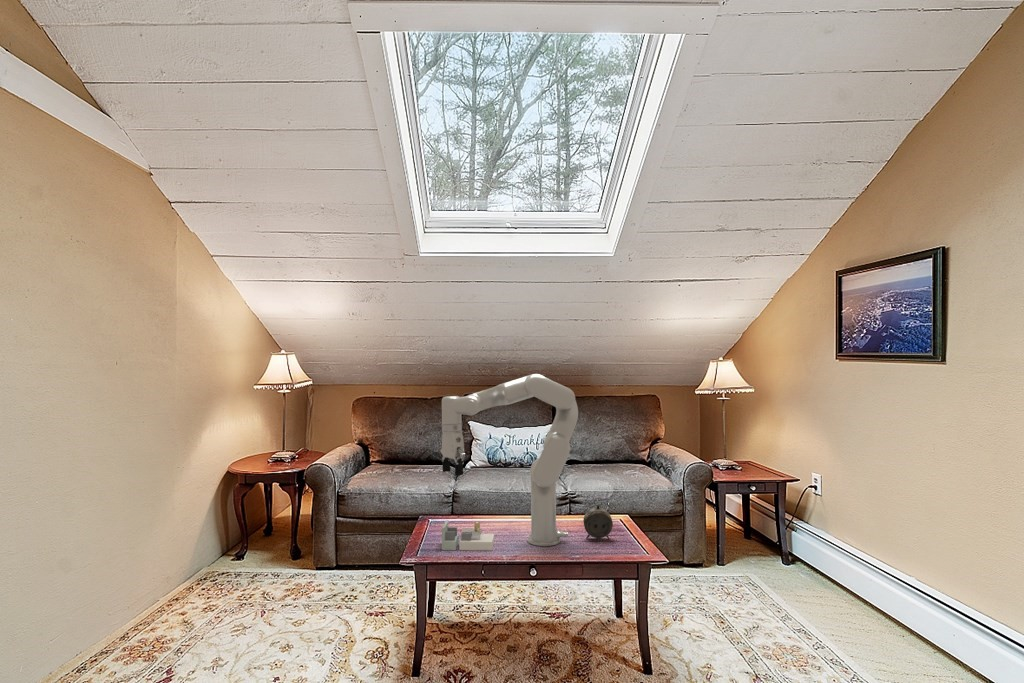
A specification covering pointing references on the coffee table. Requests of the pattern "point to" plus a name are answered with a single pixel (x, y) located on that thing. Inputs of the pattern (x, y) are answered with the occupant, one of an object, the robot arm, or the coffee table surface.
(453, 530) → the door jamb
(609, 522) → the alarm clock
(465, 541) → the door board
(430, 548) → the coffee table surface
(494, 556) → the coffee table surface
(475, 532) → the bolt
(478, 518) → the coffee table surface
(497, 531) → the coffee table surface
